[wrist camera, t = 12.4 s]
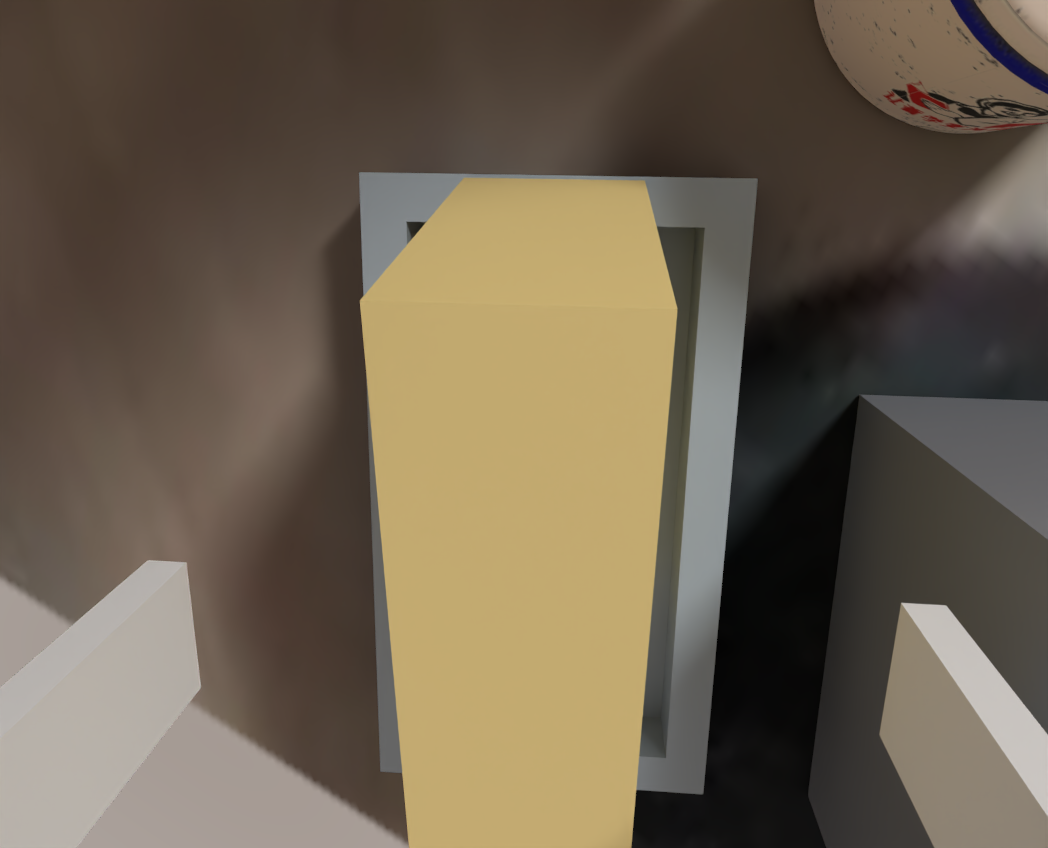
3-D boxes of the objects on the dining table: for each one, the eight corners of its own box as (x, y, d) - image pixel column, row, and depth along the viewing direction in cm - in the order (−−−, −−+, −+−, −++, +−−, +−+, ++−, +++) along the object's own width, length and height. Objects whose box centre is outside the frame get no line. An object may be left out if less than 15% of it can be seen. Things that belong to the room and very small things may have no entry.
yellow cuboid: (464, 177, 21) (359, 300, 12) (644, 180, 20) (678, 309, 12) (475, 569, 26) (410, 859, 17) (619, 577, 26) (629, 876, 17)
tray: (385, 174, 24) (358, 171, 21) (739, 180, 23) (758, 178, 20) (400, 717, 29) (380, 771, 26) (692, 736, 28) (702, 794, 25)
